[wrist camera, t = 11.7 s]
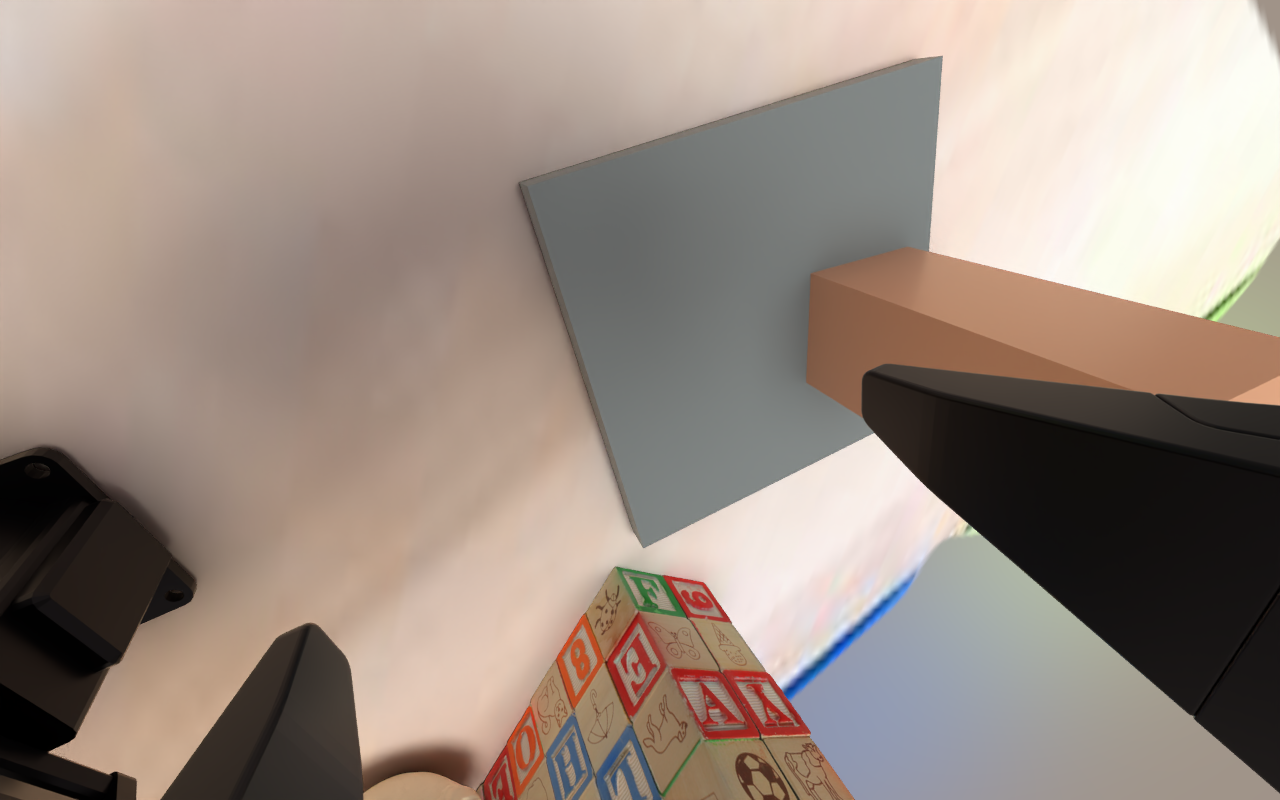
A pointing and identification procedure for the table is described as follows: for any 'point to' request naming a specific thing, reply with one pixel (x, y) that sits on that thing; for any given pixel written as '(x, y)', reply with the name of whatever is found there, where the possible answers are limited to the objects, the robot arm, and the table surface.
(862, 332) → the tall peach square pillar
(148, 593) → the robot arm
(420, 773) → the baseball
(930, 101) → the slate board
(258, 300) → the table surface
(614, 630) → the stack of blocks
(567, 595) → the table surface
